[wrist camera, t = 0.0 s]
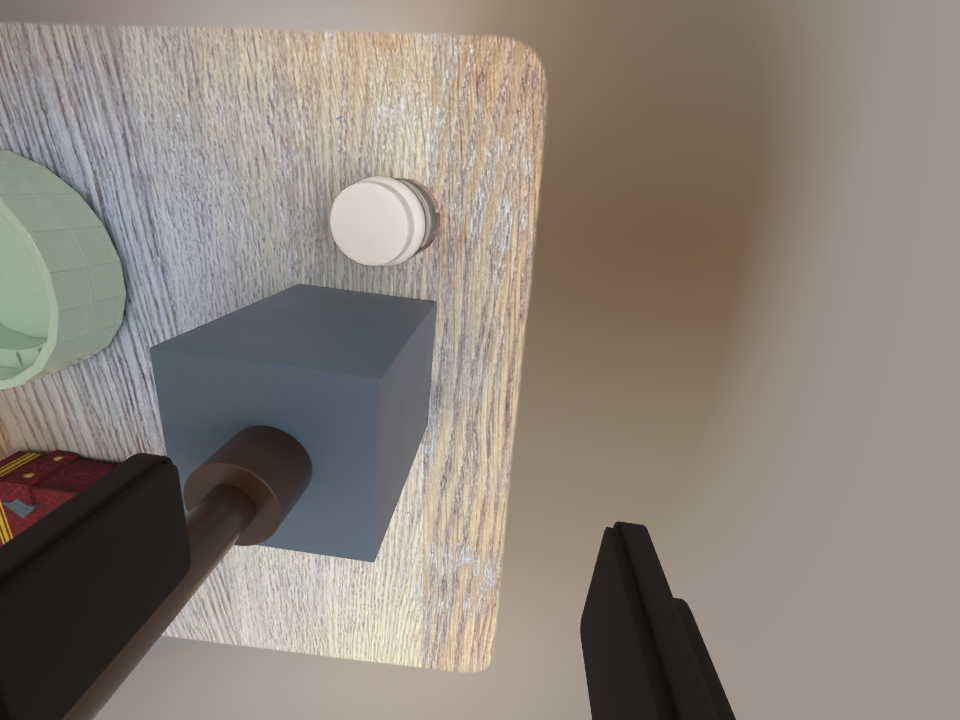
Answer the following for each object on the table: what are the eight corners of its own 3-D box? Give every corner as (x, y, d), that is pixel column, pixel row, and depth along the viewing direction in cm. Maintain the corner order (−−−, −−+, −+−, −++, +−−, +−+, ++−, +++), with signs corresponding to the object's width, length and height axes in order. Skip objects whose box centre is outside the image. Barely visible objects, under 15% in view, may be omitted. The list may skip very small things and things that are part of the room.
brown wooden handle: (223, 419, 20) (-227, 770, 8) (311, 432, 20) (-9, 807, 8) (231, 493, 21) (-141, 886, 9) (313, 505, 21) (44, 919, 9)
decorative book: (22, 444, 39) (-45, 479, 35) (202, 469, 39) (159, 508, 34) (53, 546, 43) (-4, 589, 39) (216, 570, 43) (179, 617, 38)
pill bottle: (371, 250, 31) (322, 270, 23) (371, 175, 29) (317, 170, 21) (440, 256, 31) (413, 279, 23) (443, 182, 29) (416, 178, 21)
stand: (298, 283, 32) (148, 347, 19) (437, 301, 32) (380, 379, 19) (302, 408, 36) (178, 533, 23) (427, 425, 35) (374, 563, 22)
